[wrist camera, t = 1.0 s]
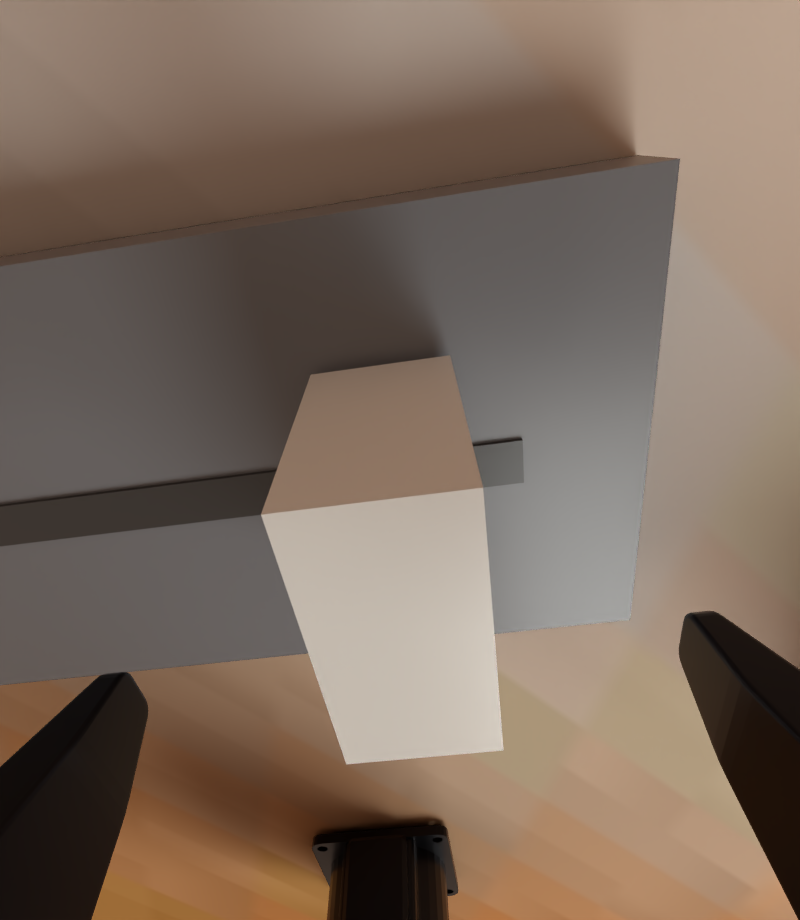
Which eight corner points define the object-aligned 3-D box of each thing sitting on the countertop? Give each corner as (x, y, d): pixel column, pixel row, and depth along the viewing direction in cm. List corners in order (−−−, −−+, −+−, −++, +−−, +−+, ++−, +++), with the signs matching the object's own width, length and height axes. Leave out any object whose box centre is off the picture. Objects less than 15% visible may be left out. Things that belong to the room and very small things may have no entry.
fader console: (607, 572, 18) (631, 622, 16) (-231, 664, 20) (-295, 718, 18) (637, 155, 12) (682, 158, 10) (-584, 350, 14) (-734, 383, 12)
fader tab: (471, 567, 14) (503, 750, 10) (360, 580, 15) (346, 764, 10) (449, 355, 11) (482, 487, 7) (310, 374, 12) (260, 514, 7)
